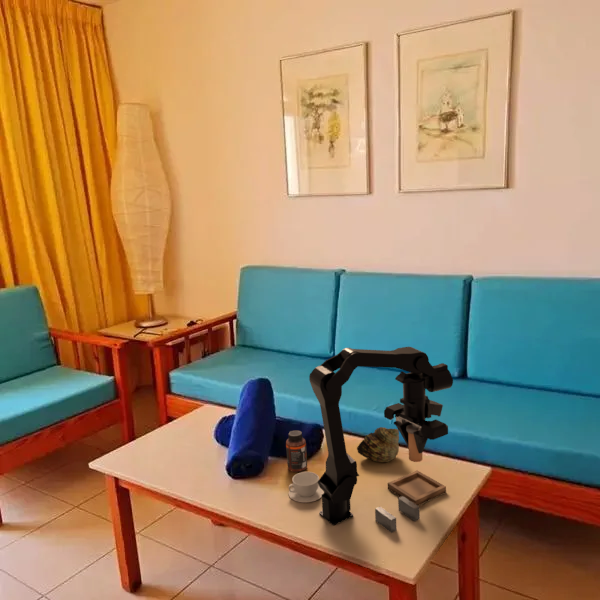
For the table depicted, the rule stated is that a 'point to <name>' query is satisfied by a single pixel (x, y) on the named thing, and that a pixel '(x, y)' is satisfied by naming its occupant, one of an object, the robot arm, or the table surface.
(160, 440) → the table surface
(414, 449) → the pin
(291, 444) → the supplement bottle
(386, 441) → the seashell
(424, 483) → the tray
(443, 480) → the table surface
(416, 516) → the hitch bracket
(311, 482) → the teacup
